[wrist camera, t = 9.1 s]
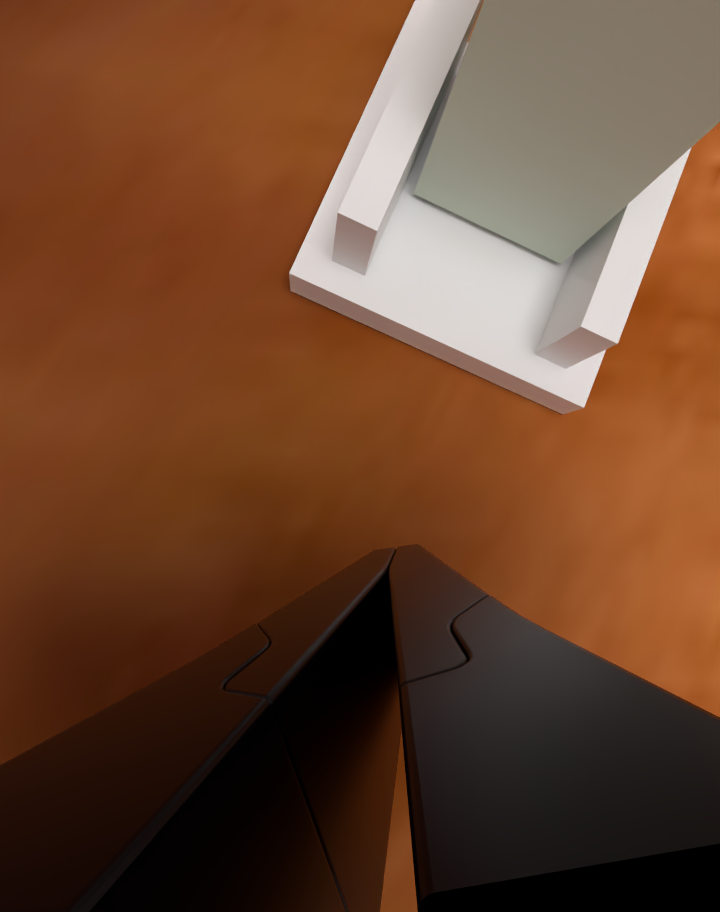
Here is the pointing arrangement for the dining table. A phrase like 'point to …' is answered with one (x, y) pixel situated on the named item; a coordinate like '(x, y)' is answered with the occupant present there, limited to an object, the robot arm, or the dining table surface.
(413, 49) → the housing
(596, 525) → the dining table surface
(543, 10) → the grey upright block
